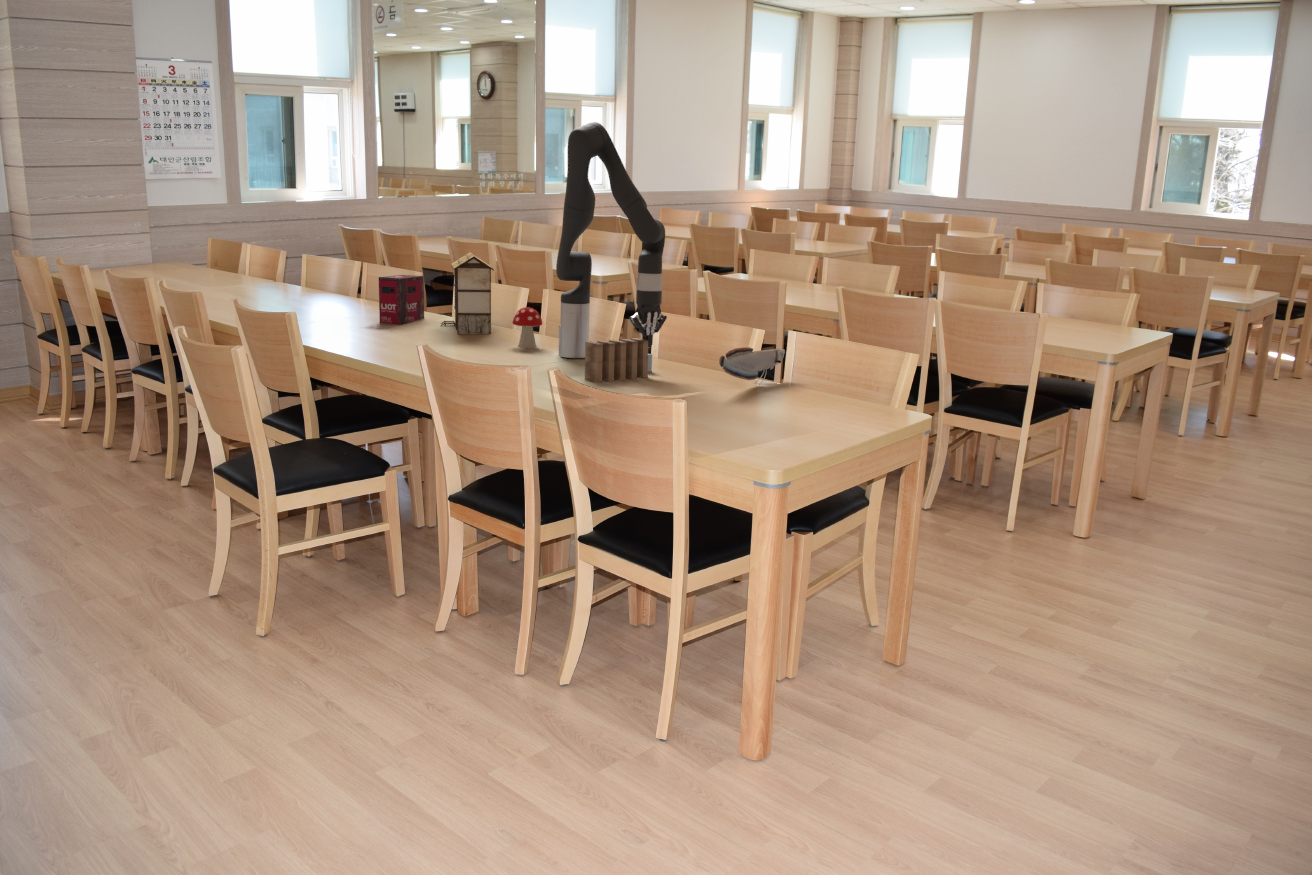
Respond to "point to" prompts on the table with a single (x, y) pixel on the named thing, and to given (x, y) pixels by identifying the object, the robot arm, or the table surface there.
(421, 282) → the box
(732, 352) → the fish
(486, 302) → the miniature building
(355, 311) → the table surface
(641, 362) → the tile
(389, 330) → the table surface
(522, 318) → the decorative mushroom
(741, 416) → the table surface
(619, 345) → the tile
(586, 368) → the tile
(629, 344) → the tile
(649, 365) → the slate tile
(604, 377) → the tile
